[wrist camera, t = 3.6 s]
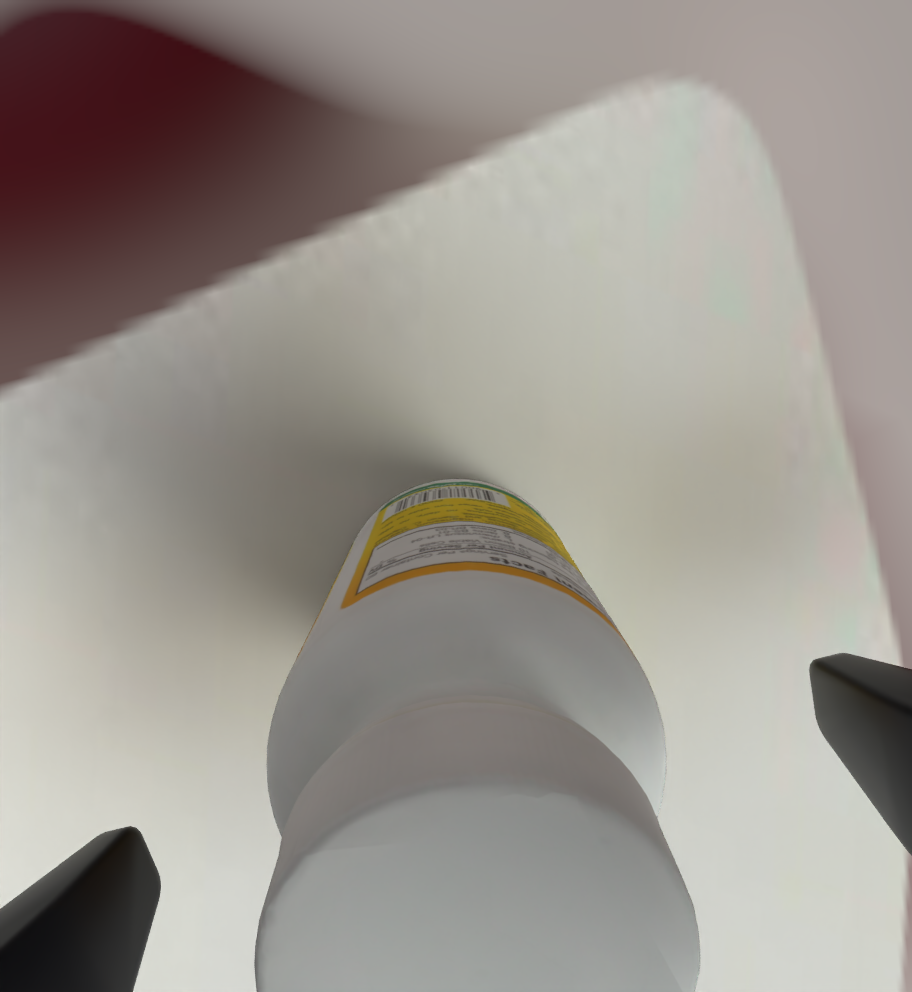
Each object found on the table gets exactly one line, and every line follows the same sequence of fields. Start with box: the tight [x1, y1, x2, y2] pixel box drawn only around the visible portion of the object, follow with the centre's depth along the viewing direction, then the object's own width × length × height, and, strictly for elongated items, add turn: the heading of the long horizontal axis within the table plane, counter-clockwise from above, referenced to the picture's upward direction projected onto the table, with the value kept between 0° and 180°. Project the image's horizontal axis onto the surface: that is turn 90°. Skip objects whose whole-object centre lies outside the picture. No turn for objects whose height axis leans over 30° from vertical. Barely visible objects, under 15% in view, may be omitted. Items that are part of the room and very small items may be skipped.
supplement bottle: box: [255, 479, 700, 992], centre depth 10 cm, size 5×5×10 cm
